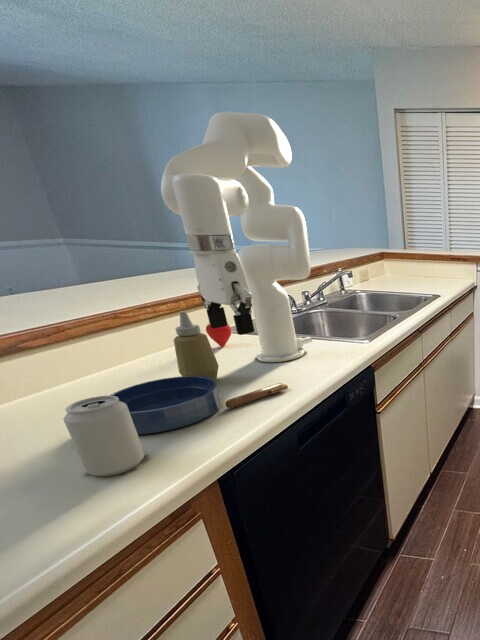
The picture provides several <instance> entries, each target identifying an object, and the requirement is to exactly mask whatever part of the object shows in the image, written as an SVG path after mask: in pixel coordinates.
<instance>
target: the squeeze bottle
mask: <svg viewBox="0 0 480 640" xmlns="http://www.w3.org/2000/svg"><path fill="white" fill-rule="evenodd" d="M174 329H175V332H176V335H177V336H175V337H174V338H173V345H174V351H175V356H176V362H177V363H176V364H177V367H178V373H179V375H180V376H181V377H182V376H202V377H209V378H212V379H214V380H215V381H216V382H217V380H218V374H219V373H218V372H219V366H220V365H219V363H218V360H217V358H216V355H215V352H214V351H213V348H212V346H211V343H210V341H209V338H208V334H205V333H203V332H202V330H201V328H200V325H199V324H194V323H193V321H192V320H191V317H190V316H189V314H188V312H187V311H186V310H182V311H179V326H176V327H175V328H174Z"/></svg>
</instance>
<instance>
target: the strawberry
mask: <svg viewBox="0 0 480 640" xmlns="http://www.w3.org/2000/svg"><path fill="white" fill-rule="evenodd" d="M205 332H206V333H207V334H206V335H207V336H208V337H209V338H210V339H212V341H213V342H215V344H217V345H219V346H220V347H225V346H226V344H227V343H228V341H229V340H230V338H231V336H232V327H231V325H230V324H228V325H227V326H224V327H219V328H211V326H210V323H208V324H207V325H206V326H205Z"/></svg>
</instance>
